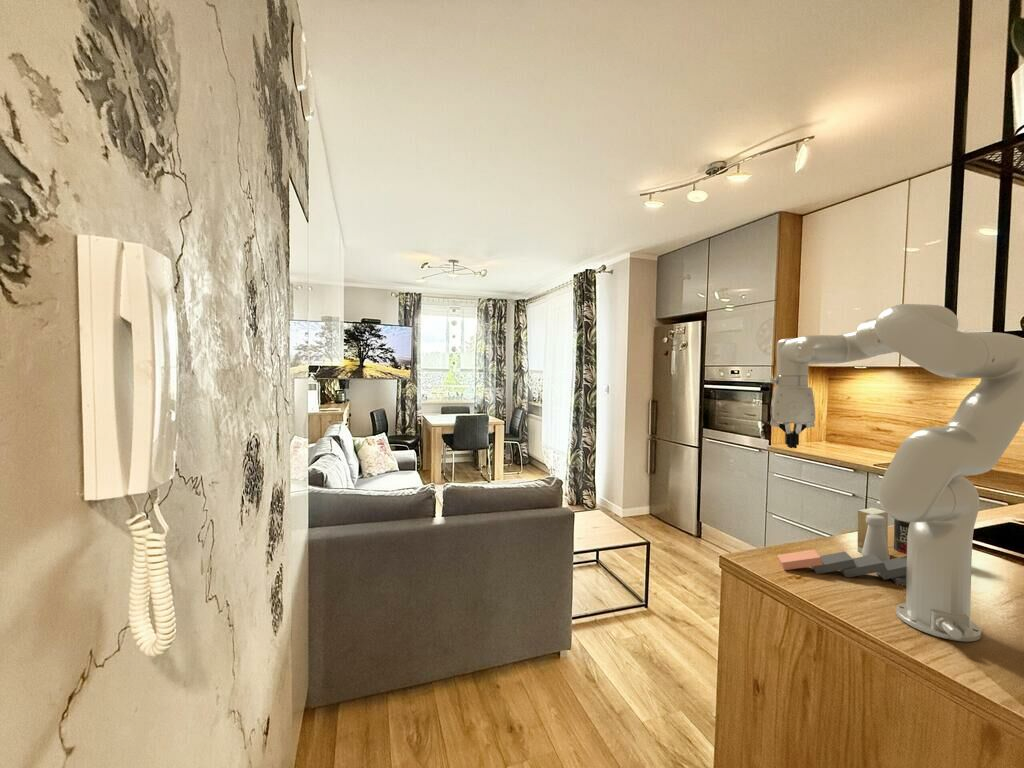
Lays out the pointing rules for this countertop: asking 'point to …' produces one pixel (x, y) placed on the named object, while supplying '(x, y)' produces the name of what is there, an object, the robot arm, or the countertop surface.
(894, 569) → the tile
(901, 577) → the tile
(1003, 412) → the robot arm
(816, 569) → the tile
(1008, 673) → the countertop surface
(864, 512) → the skincare box
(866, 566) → the tile
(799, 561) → the head tile
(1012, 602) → the countertop surface
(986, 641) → the countertop surface
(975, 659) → the countertop surface
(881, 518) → the salt shaker
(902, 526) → the deodorant
